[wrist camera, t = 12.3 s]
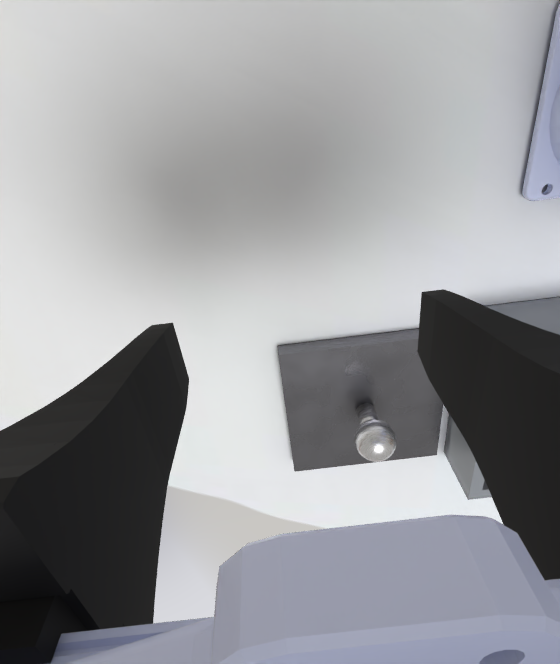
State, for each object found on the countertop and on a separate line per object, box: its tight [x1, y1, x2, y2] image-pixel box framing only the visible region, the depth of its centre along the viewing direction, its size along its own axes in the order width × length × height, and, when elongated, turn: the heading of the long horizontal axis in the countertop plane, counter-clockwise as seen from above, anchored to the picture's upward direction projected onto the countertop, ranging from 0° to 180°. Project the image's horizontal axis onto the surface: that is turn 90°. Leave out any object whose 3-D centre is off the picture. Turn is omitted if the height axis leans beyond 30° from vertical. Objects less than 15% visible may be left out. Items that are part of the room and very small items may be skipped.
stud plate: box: [278, 329, 443, 471], centre depth 25 cm, size 10×10×5 cm
